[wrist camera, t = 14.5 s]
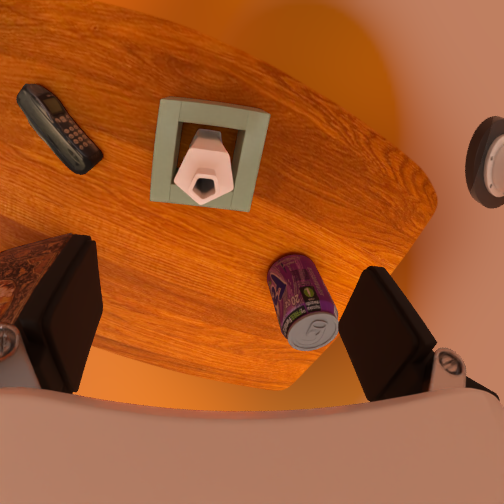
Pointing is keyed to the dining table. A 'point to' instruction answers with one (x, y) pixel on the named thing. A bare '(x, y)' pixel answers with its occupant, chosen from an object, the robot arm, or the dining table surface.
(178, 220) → the dining table surface
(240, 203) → the holder
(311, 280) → the beverage can
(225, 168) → the perfume bottle
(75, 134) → the mobile phone
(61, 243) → the book
